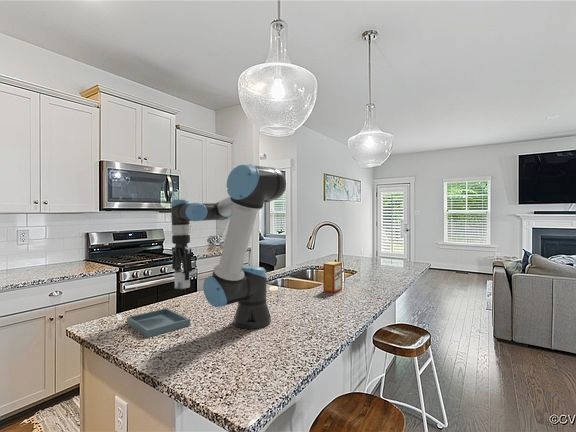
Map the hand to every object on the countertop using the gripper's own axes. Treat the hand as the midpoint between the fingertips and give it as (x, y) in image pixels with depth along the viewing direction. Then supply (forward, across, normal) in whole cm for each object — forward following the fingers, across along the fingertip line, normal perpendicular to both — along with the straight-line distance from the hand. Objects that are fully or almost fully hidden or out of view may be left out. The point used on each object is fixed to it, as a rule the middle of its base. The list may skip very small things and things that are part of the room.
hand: (182, 286), depth 144 cm
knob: (0, 0, 0) cm, 0 cm away
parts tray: (+13, -4, +13) cm, 19 cm away
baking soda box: (+13, -23, -79) cm, 83 cm away
